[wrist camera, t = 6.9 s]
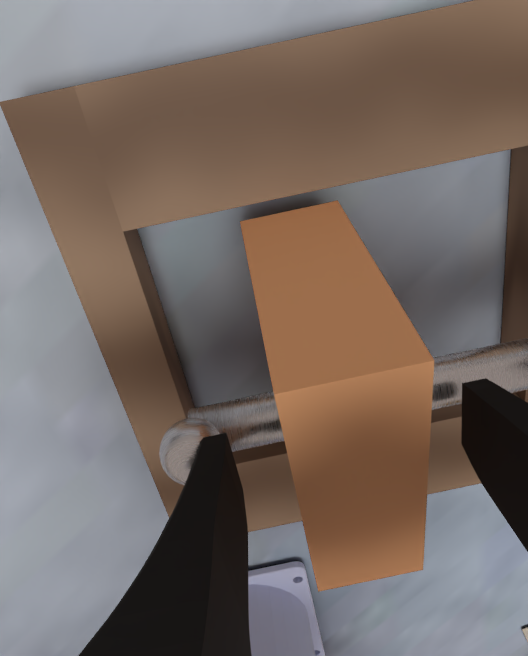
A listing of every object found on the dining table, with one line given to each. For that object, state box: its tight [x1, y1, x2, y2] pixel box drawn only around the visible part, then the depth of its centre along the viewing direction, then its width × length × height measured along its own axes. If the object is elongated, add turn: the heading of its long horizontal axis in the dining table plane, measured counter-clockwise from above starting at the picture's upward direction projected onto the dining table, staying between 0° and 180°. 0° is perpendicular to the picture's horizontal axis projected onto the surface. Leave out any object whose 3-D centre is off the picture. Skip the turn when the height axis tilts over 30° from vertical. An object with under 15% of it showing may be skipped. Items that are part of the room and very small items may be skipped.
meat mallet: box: [159, 338, 528, 485], centre depth 16 cm, size 4×17×8 cm, turn 101°
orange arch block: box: [240, 201, 434, 592], centre depth 15 cm, size 8×3×7 cm, turn 11°
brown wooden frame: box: [0, 0, 528, 532], centre depth 18 cm, size 18×22×2 cm
